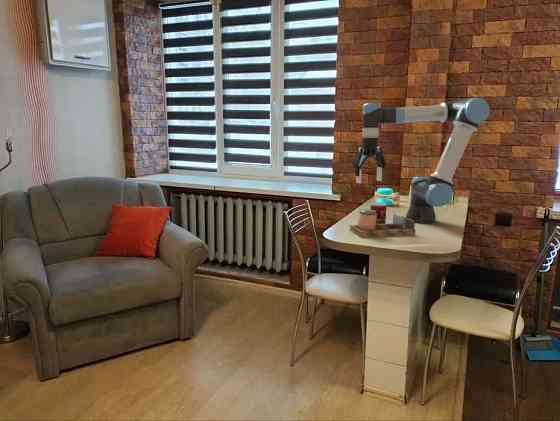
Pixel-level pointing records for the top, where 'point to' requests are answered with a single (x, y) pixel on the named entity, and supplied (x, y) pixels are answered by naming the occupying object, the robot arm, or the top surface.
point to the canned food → (379, 212)
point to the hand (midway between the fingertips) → (369, 182)
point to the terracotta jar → (367, 220)
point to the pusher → (399, 222)
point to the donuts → (385, 192)
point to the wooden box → (385, 230)
